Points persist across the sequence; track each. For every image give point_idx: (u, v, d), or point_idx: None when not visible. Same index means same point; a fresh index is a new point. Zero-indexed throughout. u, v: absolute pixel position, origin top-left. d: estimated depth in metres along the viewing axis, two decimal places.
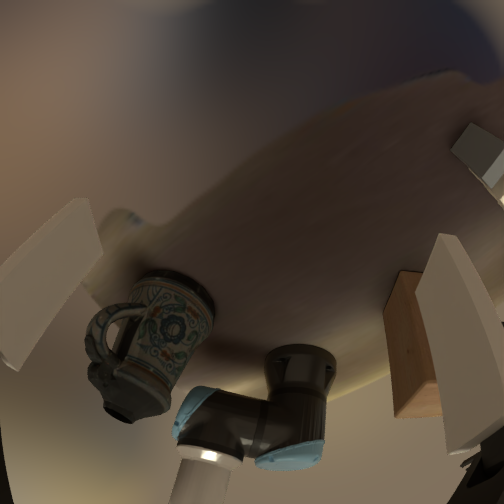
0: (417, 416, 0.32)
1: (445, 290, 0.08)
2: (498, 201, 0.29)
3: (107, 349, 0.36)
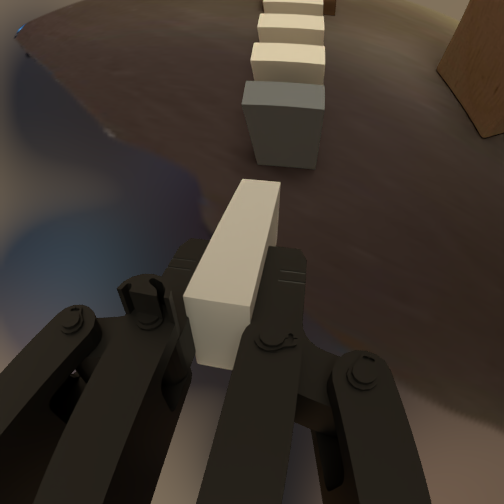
0: None
1: None
2: None
3: None
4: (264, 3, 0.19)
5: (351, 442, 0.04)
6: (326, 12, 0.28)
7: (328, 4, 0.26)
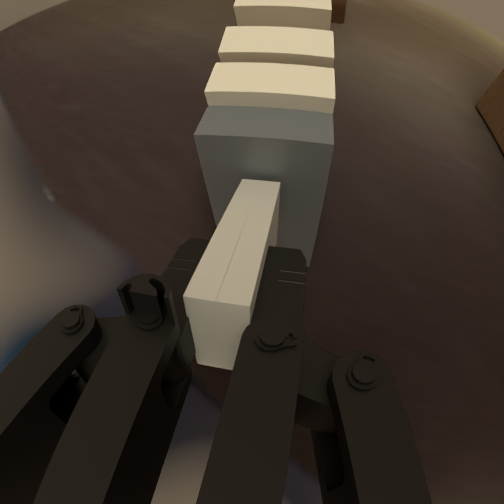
0: None
1: None
2: None
3: None
4: (236, 8, 0.12)
5: (351, 442, 0.04)
6: (332, 19, 0.21)
7: (335, 8, 0.20)
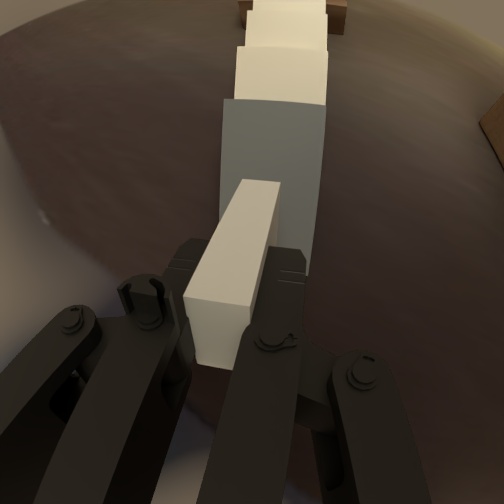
0: None
1: None
2: None
3: None
4: None
5: (351, 442, 0.04)
6: (331, 30, 0.21)
7: (334, 19, 0.19)
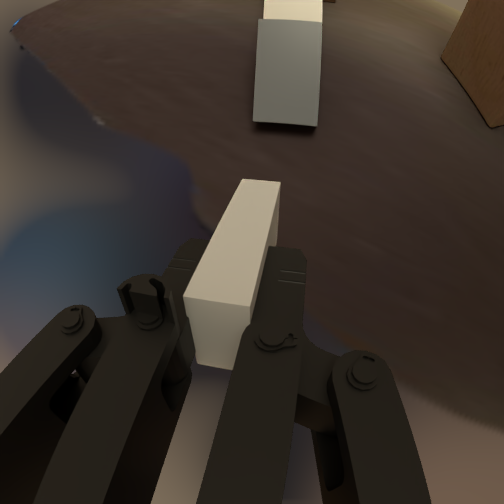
0: None
1: None
2: None
3: None
4: None
5: (351, 442, 0.04)
6: None
7: None
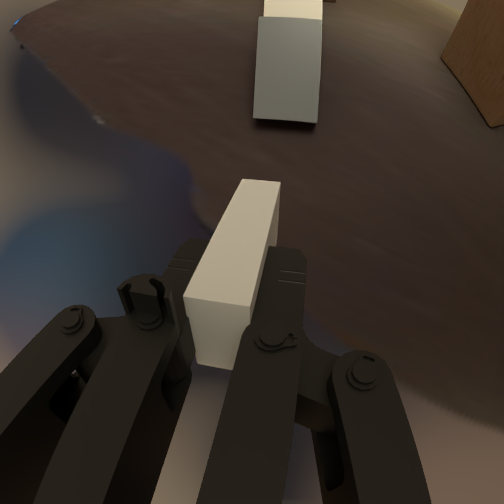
0: None
1: None
2: None
3: None
4: None
5: (351, 442, 0.04)
6: None
7: None
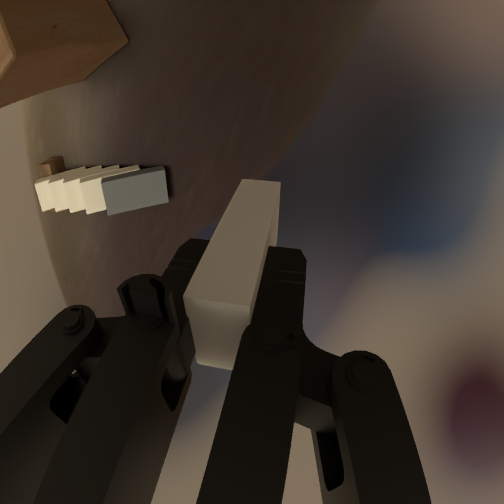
0: None
1: None
2: (95, 172, 0.39)
3: None
4: (56, 211, 0.40)
5: (351, 442, 0.04)
6: (62, 162, 0.42)
7: (56, 164, 0.41)
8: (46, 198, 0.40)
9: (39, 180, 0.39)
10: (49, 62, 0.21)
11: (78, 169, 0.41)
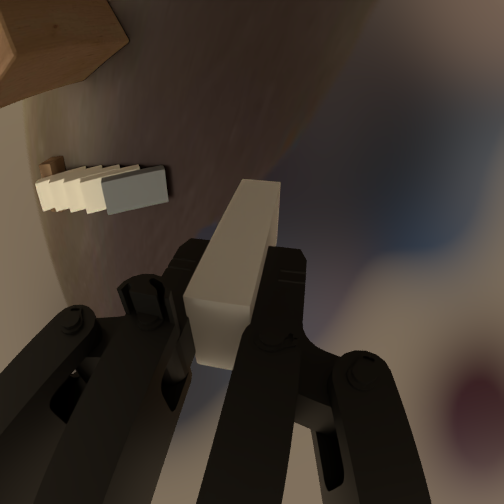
0: None
1: None
2: (95, 172, 0.39)
3: None
4: (57, 210, 0.40)
5: (351, 442, 0.04)
6: (62, 162, 0.42)
7: (57, 164, 0.41)
8: (47, 198, 0.40)
9: (39, 180, 0.39)
10: (49, 62, 0.21)
11: (79, 169, 0.41)
